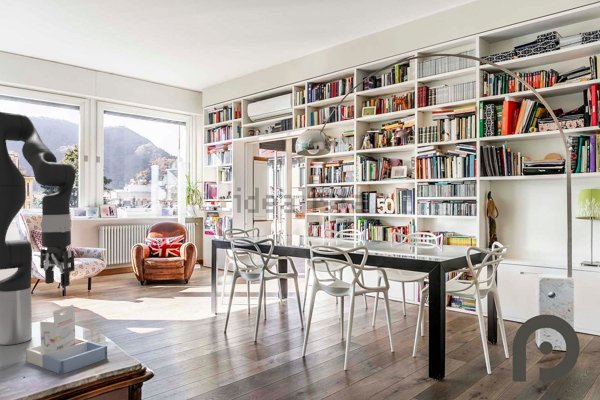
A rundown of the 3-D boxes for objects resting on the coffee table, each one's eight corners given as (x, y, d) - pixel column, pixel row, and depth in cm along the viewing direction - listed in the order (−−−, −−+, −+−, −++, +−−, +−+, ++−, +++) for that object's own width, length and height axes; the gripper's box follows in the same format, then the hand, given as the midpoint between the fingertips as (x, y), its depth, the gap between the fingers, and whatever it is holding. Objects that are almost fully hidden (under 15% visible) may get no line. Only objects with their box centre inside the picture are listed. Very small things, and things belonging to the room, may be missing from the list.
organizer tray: (25, 361, 125) (25, 349, 125) (71, 347, 137) (71, 335, 137) (60, 374, 115) (60, 361, 115) (107, 358, 127) (107, 346, 127)
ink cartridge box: (61, 351, 133) (61, 303, 133) (76, 352, 132) (75, 304, 132) (40, 361, 125) (39, 310, 125) (54, 362, 124) (54, 311, 124)
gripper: (30, 230, 129) (31, 284, 129) (56, 231, 121) (57, 289, 121) (56, 228, 135) (57, 280, 135) (82, 229, 128) (83, 284, 128)
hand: (57, 284), depth 128 cm, fingers open, 8 cm apart
